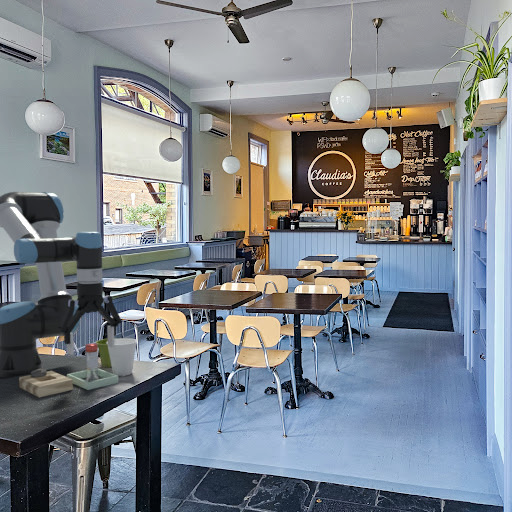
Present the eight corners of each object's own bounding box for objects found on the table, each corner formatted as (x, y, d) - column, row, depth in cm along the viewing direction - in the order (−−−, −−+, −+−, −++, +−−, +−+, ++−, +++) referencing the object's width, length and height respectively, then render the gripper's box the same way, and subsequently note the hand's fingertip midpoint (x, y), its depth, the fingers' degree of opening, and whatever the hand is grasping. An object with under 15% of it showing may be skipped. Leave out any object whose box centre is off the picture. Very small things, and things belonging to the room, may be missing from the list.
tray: (67, 384, 169) (66, 374, 169) (97, 377, 177) (96, 368, 176) (87, 393, 160) (87, 382, 160) (118, 385, 167) (118, 375, 167)
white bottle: (84, 383, 168) (83, 344, 167) (95, 380, 171) (93, 342, 170) (90, 385, 166) (88, 346, 165) (100, 382, 168) (99, 344, 167)
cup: (130, 378, 174) (129, 345, 174) (101, 377, 176) (100, 344, 176) (142, 370, 184) (142, 338, 184) (115, 369, 186) (114, 337, 185)
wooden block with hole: (19, 390, 163) (18, 371, 163) (51, 383, 170) (51, 365, 170) (39, 400, 153) (38, 380, 153) (72, 392, 161) (72, 373, 160)
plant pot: (115, 369, 186) (114, 344, 185) (91, 368, 188) (90, 343, 188) (129, 363, 195) (128, 339, 194) (105, 361, 197) (105, 337, 197)
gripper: (56, 286, 155) (57, 360, 156) (131, 279, 173) (132, 345, 174) (44, 284, 160) (46, 355, 162) (119, 277, 178) (120, 341, 179)
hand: (91, 350), depth 168 cm, fingers open, 13 cm apart
